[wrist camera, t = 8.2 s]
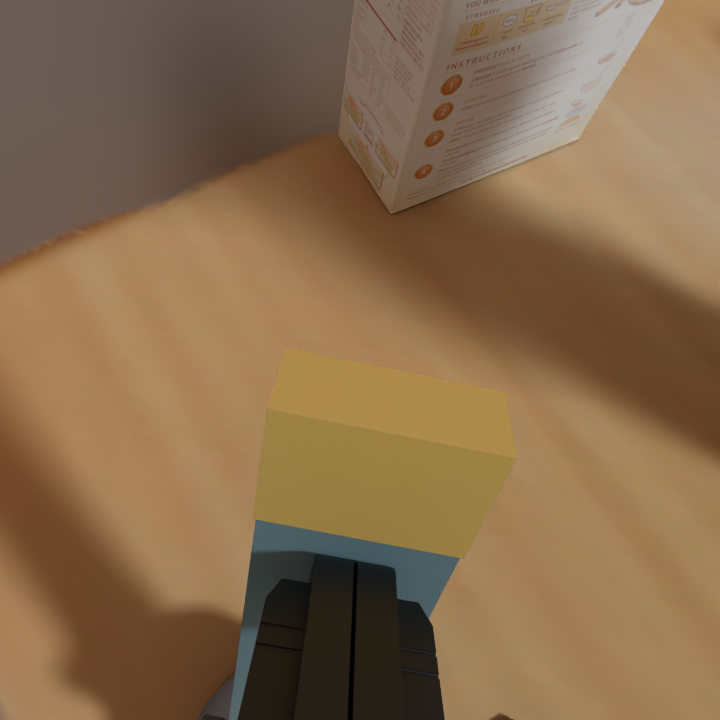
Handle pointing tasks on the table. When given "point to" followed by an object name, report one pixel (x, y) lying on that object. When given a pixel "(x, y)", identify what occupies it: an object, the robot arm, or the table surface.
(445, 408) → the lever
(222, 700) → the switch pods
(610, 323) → the table surface
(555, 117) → the coffeecake box
